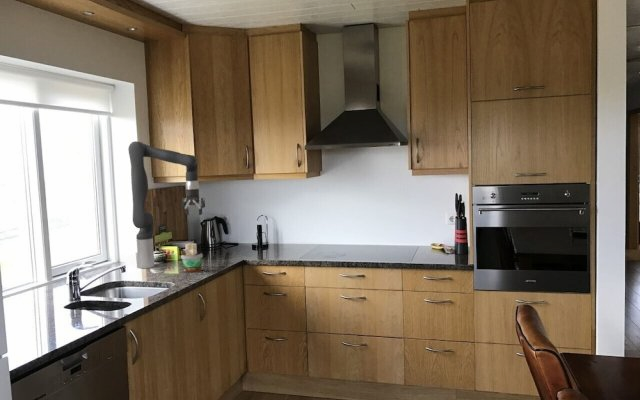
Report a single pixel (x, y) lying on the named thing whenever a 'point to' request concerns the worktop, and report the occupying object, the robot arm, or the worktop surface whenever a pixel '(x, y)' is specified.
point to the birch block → (191, 249)
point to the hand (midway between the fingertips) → (193, 215)
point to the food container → (192, 263)
